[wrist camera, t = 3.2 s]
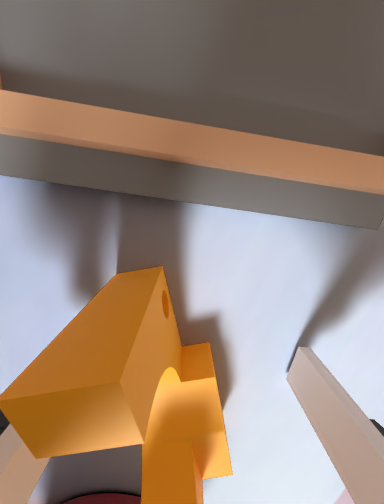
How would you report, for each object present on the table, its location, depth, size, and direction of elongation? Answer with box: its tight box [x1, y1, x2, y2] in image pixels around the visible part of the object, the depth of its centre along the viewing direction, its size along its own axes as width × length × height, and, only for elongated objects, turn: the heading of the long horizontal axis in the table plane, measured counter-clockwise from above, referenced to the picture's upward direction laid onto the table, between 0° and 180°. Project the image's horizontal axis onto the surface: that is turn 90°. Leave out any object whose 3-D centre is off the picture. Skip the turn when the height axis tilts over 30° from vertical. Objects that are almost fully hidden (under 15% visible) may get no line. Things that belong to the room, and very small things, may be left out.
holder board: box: [0, 0, 384, 230], centre depth 6 cm, size 19×12×2 cm, turn 82°
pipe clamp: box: [0, 266, 233, 504], centre depth 8 cm, size 12×4×6 cm, turn 10°
